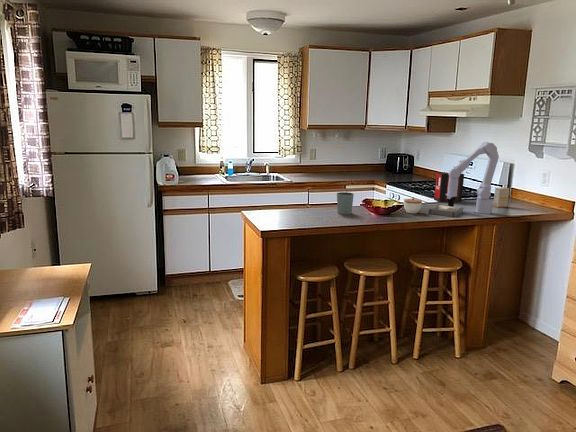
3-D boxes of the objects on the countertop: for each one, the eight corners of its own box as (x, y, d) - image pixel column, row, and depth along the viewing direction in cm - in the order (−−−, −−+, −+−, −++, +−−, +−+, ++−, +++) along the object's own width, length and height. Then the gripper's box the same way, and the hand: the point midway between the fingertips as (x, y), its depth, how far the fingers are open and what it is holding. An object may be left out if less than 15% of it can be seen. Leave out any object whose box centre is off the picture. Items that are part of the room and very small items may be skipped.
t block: (455, 213, 299) (456, 207, 298) (450, 216, 291) (451, 209, 290) (439, 211, 304) (440, 205, 303) (434, 213, 296) (435, 207, 295)
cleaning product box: (439, 202, 339) (442, 173, 335) (433, 199, 347) (436, 172, 343) (461, 202, 341) (464, 174, 337) (455, 199, 350) (458, 172, 346)
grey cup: (350, 215, 283) (351, 195, 281) (333, 213, 287) (334, 193, 284) (354, 212, 293) (355, 192, 290) (338, 210, 296) (339, 191, 294)
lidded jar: (404, 210, 305) (405, 195, 303) (421, 211, 301) (423, 197, 299) (401, 213, 295) (403, 198, 293) (419, 214, 291) (421, 199, 289)
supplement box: (502, 205, 331) (504, 187, 328) (507, 207, 327) (509, 188, 324) (492, 206, 328) (494, 187, 326) (497, 207, 324) (499, 188, 321)
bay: (463, 212, 304) (463, 207, 303) (454, 217, 287) (454, 212, 287) (438, 208, 312) (439, 204, 312) (428, 213, 296) (429, 208, 295)
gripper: (449, 185, 312) (447, 206, 315) (443, 188, 300) (440, 209, 303) (460, 186, 308) (458, 207, 311) (454, 189, 296) (452, 210, 299)
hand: (450, 208), depth 307 cm, fingers closed
